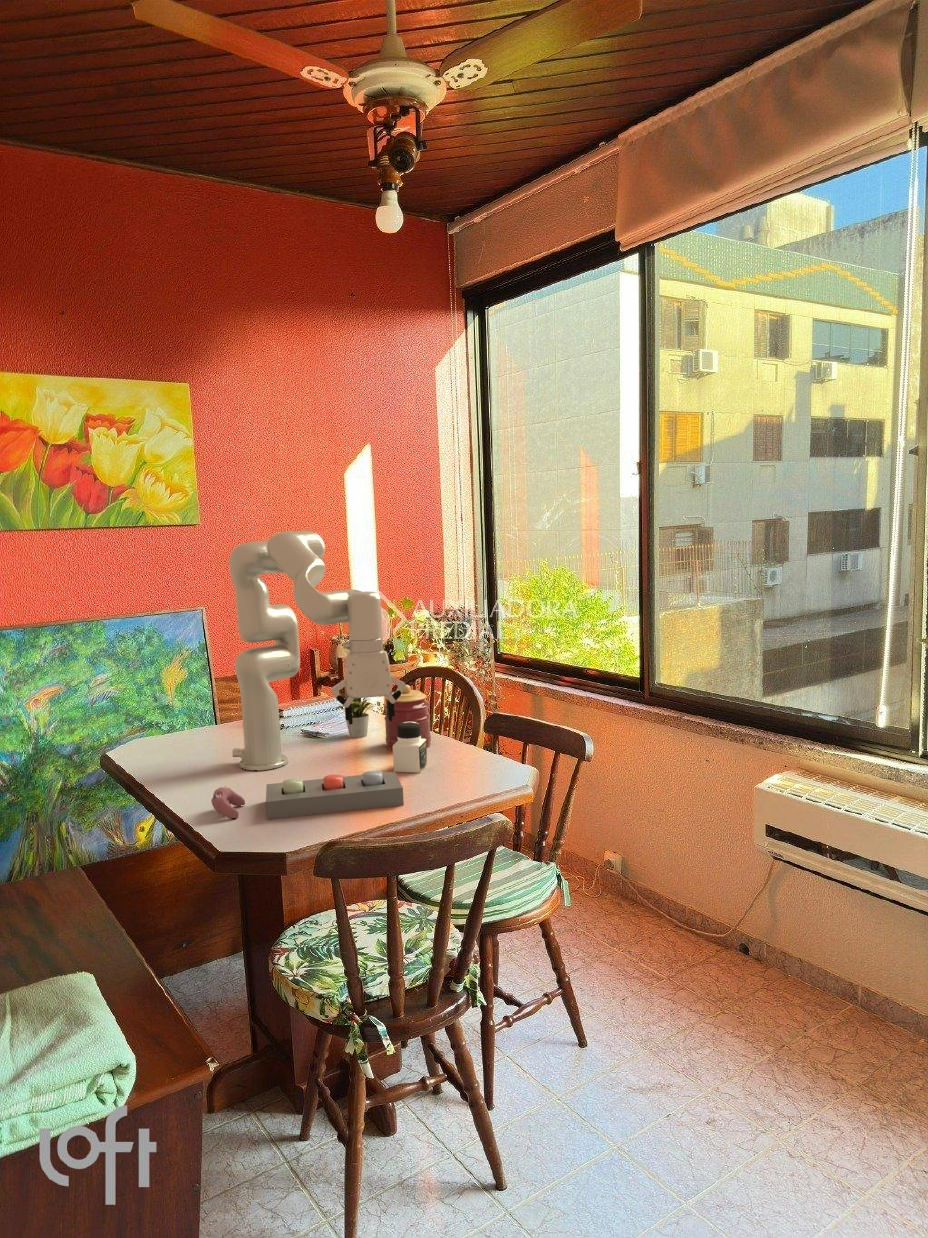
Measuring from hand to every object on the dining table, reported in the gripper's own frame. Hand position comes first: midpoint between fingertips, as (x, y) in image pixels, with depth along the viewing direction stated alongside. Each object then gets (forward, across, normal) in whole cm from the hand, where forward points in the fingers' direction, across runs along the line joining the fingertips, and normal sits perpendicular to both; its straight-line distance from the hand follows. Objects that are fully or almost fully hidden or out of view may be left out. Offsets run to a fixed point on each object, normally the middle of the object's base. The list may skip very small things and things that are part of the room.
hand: (370, 721), depth 194 cm
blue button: (+15, 0, 0) cm, 15 cm away
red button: (+15, -9, 0) cm, 18 cm away
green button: (+15, -18, 0) cm, 24 cm away
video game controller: (+19, -33, +1) cm, 37 cm away
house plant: (+18, +1, +62) cm, 64 cm away
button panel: (+18, -9, 0) cm, 20 cm away
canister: (+18, +15, +44) cm, 50 cm away
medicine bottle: (+18, +12, +21) cm, 30 cm away
